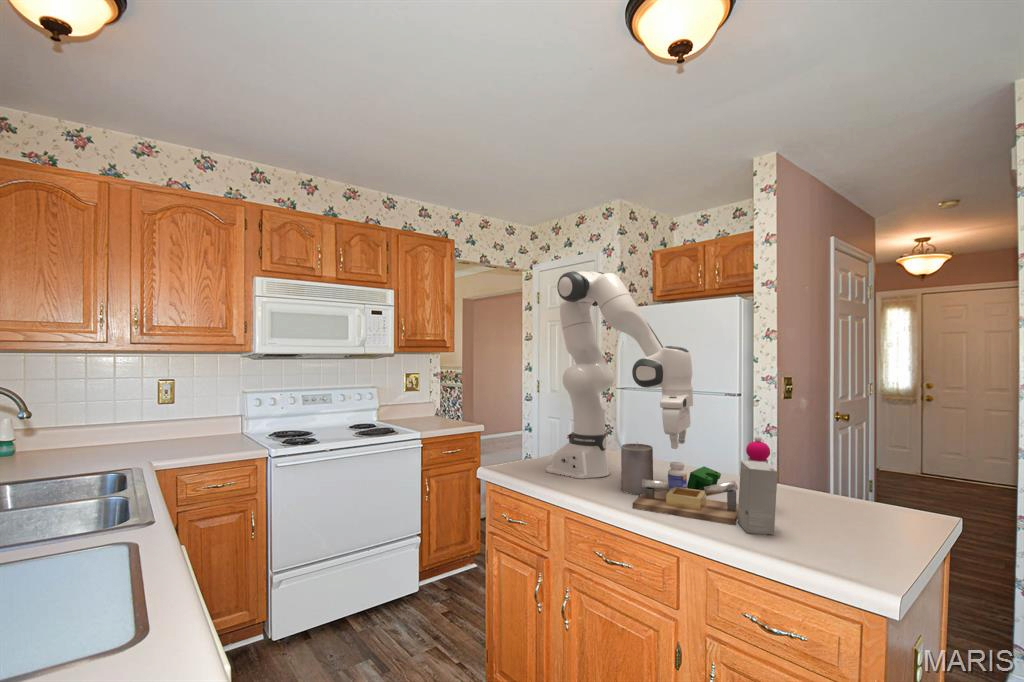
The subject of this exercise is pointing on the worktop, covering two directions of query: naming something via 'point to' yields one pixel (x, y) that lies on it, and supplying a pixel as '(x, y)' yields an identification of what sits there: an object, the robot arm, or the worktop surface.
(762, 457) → the pepper mill
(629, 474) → the pillar candle
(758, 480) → the skincare box
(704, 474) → the clamp
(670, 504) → the shaft stand
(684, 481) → the pill bottle
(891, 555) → the worktop surface
